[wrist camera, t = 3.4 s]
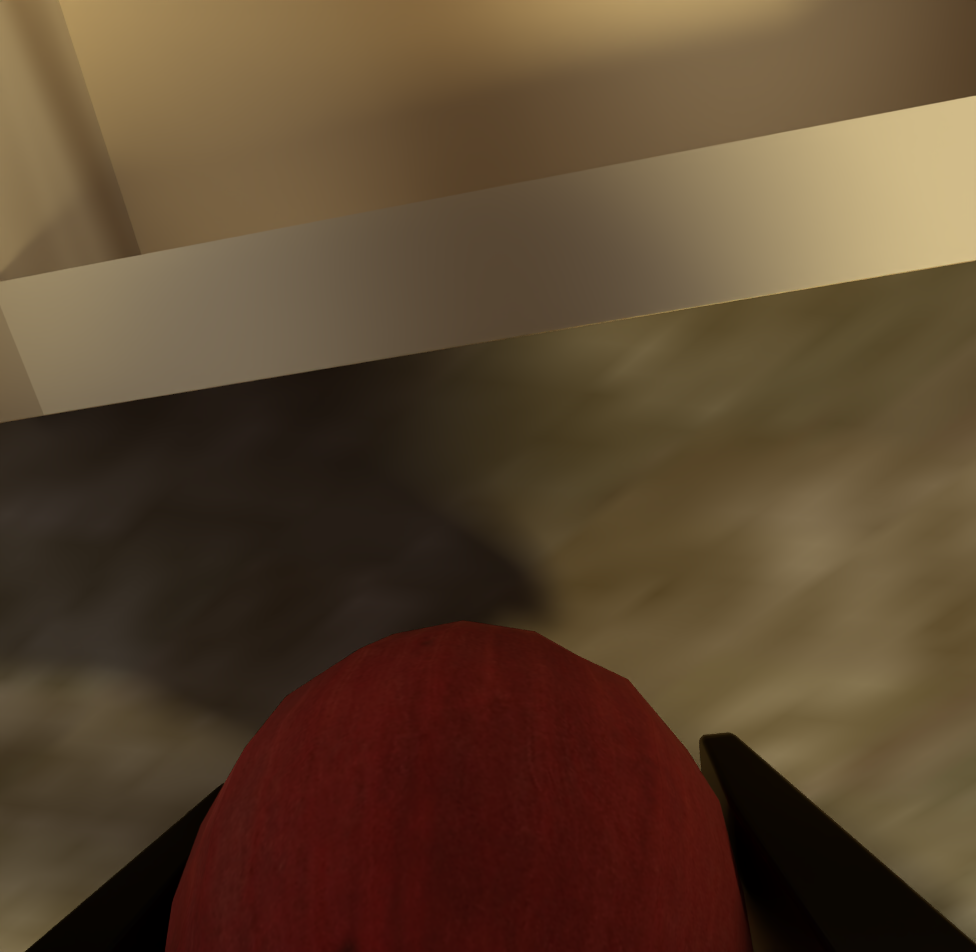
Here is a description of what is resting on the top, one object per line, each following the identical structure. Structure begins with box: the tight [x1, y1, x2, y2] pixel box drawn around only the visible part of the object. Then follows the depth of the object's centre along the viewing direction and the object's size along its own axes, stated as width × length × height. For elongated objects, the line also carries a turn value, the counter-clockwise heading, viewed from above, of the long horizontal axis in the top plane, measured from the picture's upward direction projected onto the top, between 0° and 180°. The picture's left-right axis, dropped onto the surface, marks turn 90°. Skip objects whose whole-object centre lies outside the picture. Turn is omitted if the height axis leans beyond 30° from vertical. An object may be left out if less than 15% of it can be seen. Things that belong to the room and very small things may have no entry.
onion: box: [165, 620, 753, 952], centre depth 7 cm, size 6×6×8 cm
